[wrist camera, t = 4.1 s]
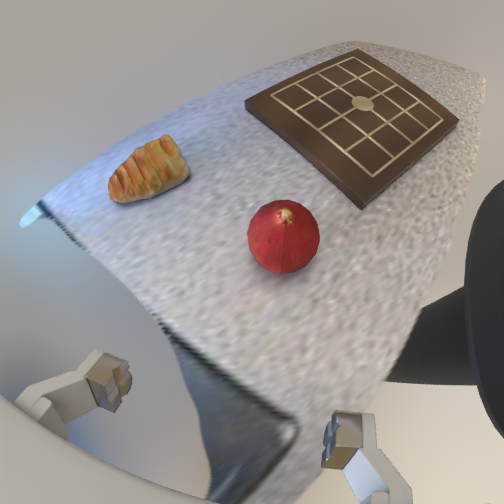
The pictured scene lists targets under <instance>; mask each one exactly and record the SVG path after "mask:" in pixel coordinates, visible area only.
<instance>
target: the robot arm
mask: <svg viewBox="0 0 504 504" xmlns="http://www.w3.org/2000/svg"><path fill="white" fill-rule="evenodd" d="M128 368H129V363H128V361H126V360H123V359H121V358H118V357H116V356H114V355H111V354H109V353H106V352H104V351H101V350H99V349H95V350H93V351H92V352H91V353H90V355H89V356H88V357H87V358H86V359H85V360H84V361H83V363H82V364H81V365H80V366H79V367H78V368H77V369H76V371H75V372H73V371H70V372H67V373H64V374H61V375H59V376H56V377H53V378H50V379H47V380H45V381H42V382H38V383H36V384H33V385H30V386H28V387H27V388H26V389H25V390H24V391H23V392H22V394H21V395H20V396H19V397H18V398H17V399H16V400H15V401H14V403H13V404H12V403H10V402H9V401H8V400H6V399H5V398H4V397H3V396H1V395H0V504H220V503H216V502H212V501H208V500H205V499H201V498H198V497H194V496H191V495H188V494H185V493H181V492H178V491H176V490H173V489H170V488H167V487H164V486H161V485H159V484H156V483H153V482H151V481H148V480H146V479H143V478H141V477H138V476H136V475H134V474H131V473H129V472H127V471H124V470H122V469H120V468H118V467H116V466H114V465H111V464H109V463H107V462H105V461H103V460H101V459H99V458H97V457H95V456H93V455H91V454H89V453H88V452H86V451H84V450H82V449H80V448H78V447H77V446H75V445H73V444H71V443H70V442H68V441H67V439H68V438H69V437H70V433H69V431H68V430H67V428H66V426H65V424H67V423H69V422H71V421H72V420H74V419H76V418H78V417H80V416H82V415H84V414H86V413H88V412H89V411H91V410H93V409H95V408H97V407H98V406H99V407H102V408H104V409H106V410H109V411H111V412H113V413H115V412H116V410H117V409H118V407H119V406H120V404H121V403H122V399H121V397H122V396H125V395H126V394H128V392H129V390H130V388H131V385H132V375H131V373H130V372H129V371H128ZM323 444H324V446H325V447H326V448H325V449H324V451H323V453H322V462H321V467H322V468H330V469H340V470H342V472H343V474H344V475H345V477H346V479H347V481H348V483H349V485H350V486H351V488H352V490H353V492H354V494H355V496H356V497H357V499H358V501H359V503H360V504H413V500H412V489H411V487H410V486H409V485H408V484H407V482H406V481H405V480H404V479H403V477H402V476H401V475H400V473H399V472H398V471H397V470H396V468H395V467H394V466H393V465H392V463H391V462H390V461H389V459H388V458H387V457H386V455H385V454H384V453H383V452H382V450H381V449H377V442H376V426H375V416H374V414H370V413H360V412H350V411H339V410H335V411H334V412H333V414H332V421H330V422H328V424H327V427H326V430H325V433H324V439H323Z"/></svg>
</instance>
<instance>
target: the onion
mask: <svg viewBox="0 0 504 504" xmlns="http://www.w3.org/2000/svg"><path fill="white" fill-rule="evenodd" d="M247 235H248V243H249V249H250V251H251V253H252V254H253V256H254V258H255V260H256V261H257V262H258V263H259V264H260V265H262V266H263V267H264V268H265V269H267V270H269V271H272V272H275V273H279V274H284V273H292V272H295V271H297V270H299V269H301V268H303V267H305V266H306V265H307V263H308V262H309V261H310V260H311V259H312V258H313V257H314V255H315V254H316V252H317V248H318V245H319V242H320V235H319V230H318V224H317V222H316V220H315V219H314V217H313V215H312V214H311V212H310V211H309V210H308V209H306V208H305V207H304V206H302V205H301V204H299V203H296V202H293V201H290V200H276V201H273V202H271V203H268V204H266V205H264V206H262V207H261V208H260V209H259V210H258V211H257V213H256V214H255V215H254V217H253V218H252V219H251V221H250V225H249V229H248V232H247Z"/></svg>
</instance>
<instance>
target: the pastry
mask: <svg viewBox="0 0 504 504" xmlns="http://www.w3.org/2000/svg"><path fill="white" fill-rule="evenodd" d="M189 174H190V169H189V167H188V165H187V163H186V161H185V160H184V159H183V158H182V156H181V155H180V149H179V148H178V146H177V144H176V143H175V142H174V141H173V139H172V138H171V137H170V136H169V135H163V136H161V138H159V139H156V140H153V141H151V142H148V143H146V144H145V145H144V146H141V147H138V148H137V149H135V151H134V152H133V154H132V155H130V156H129V157H128V159H127V160H126V161H125V162H124V163H122V164H121V165H120V166H119V167H118V168H117V169H116V170H115V172H114V173H113V175H112V176H111V177H110V179H109V183H108V190H109V197H110V199H112V200H114V201H117V202H120V203H130V202H132V201H138V200H140V199H149V198H153V197H154V196H155V195H159V194H161V193H163V192H165V191H168V189H170V188H172V187H176V186H178V185H180V184H181V183H183V181H184V180H185V179H187V177H188V176H189Z"/></svg>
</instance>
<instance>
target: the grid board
mask: <svg viewBox="0 0 504 504" xmlns="http://www.w3.org/2000/svg"><path fill="white" fill-rule="evenodd" d="M245 107H246V110H248V111H249V112H250V113H252V114H253V115H254V116H255V117H257V118H258V119H259V120H260V121H262V122H263V123H264V124H265V125H267V126H268V127H269V128H270V129H272V130H273V131H274V132H275V133H277V134H278V135H279V136H280V137H281V138H283V139H284V140H285V141H286V142H287V143H289V144H290V145H291V146H292V147H293V148H294V149H296V150H297V151H298V152H299V153H300V154H301V155H303V156H304V157H305V158H306V159H307V160H308V161H309V162H310V163H312V164H313V165H314V166H315V167H316V168H317V169H318V170H319V171H321V172H322V173H323V174H324V175H325V176H326V177H327V178H328V179H329V180H330V181H331V182H333V183H334V184H335V185H336V186H337V187H338V188H339V189H340V190H341V191H342V192H343V193H344V194H345V195H346V196H347V197H348V198H349V199H350V200H352V201H353V202H354V203H355V204H356V205H357V206H358V207H359V208H360V209H362V208H364V207H365V206H366V205H367V204H368V203H369V202H371V201H372V200H373V199H374V198H375V197H376V196H378V195H379V194H380V193H381V192H382V191H384V190H385V189H386V188H387V187H388V186H389V185H390V184H392V183H393V182H394V181H395V180H396V179H397V178H399V177H400V176H401V175H402V174H403V173H404V172H405V171H407V170H408V169H409V168H410V167H411V166H412V165H413V164H415V163H416V162H417V161H418V160H419V159H420V158H421V157H423V156H424V155H425V154H426V153H427V152H428V151H429V150H430V149H432V148H433V147H434V146H435V145H436V144H437V143H438V142H439V141H440V140H442V139H443V138H444V137H445V136H446V135H447V134H448V133H449V132H450V131H451V130H453V129H454V128H455V127H456V125H457V123H458V122H459V119H458V118H457V117H456V116H454V115H453V114H452V113H451V112H450V111H448V110H447V109H446V108H445V107H444V106H442V105H441V104H440V103H438V102H437V101H436V100H435V99H433V98H432V97H431V96H429V95H428V94H427V93H425V92H424V91H423V90H421V89H420V88H419V87H417V86H416V85H414V84H413V83H412V82H410V81H409V80H407V79H406V78H404V77H403V76H401V75H400V74H398V73H397V72H395V71H394V70H392V69H391V68H389V67H388V66H386V65H384V64H383V63H381V62H380V61H378V60H376V59H375V58H373V57H371V56H370V55H368V54H366V53H364V52H363V51H361V50H359V49H356V50H353V51H351V52H348V53H345V54H343V55H340V56H338V57H335V58H333V59H331V60H328V61H326V62H323V63H321V64H319V65H316V66H314V67H312V68H310V69H307V70H305V71H303V72H301V73H299V74H296V75H294V76H292V77H290V78H288V79H286V80H284V81H282V82H280V83H278V84H276V85H274V86H272V87H270V88H268V89H266V90H264V91H262V92H260V93H258V94H256V95H254V96H252V97H250V98H248V99H246V100H245Z"/></svg>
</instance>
